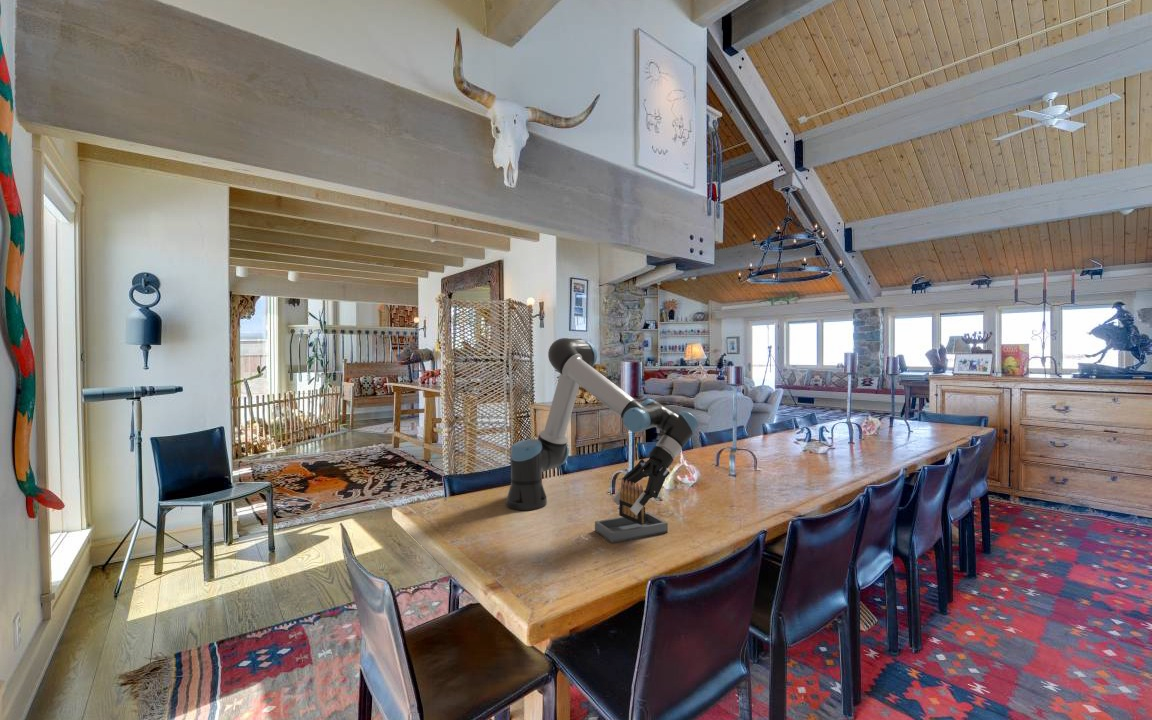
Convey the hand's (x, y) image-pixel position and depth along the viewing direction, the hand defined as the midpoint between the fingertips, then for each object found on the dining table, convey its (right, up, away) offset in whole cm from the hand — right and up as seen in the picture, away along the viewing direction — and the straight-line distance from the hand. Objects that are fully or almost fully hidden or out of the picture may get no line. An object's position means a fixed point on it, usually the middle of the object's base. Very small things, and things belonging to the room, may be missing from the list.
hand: (623, 507), depth 143 cm
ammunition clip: (+3, -4, +1) cm, 5 cm away
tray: (+2, -8, +1) cm, 9 cm away
